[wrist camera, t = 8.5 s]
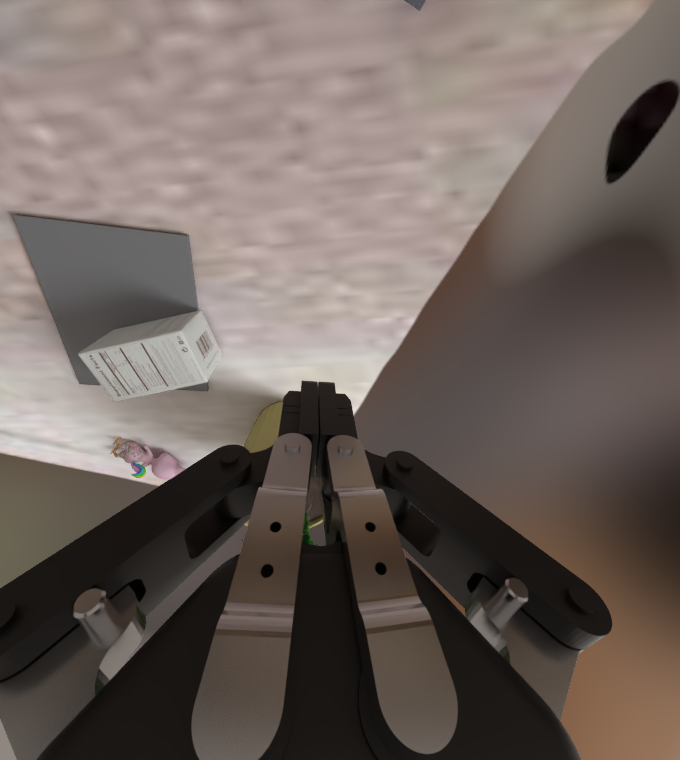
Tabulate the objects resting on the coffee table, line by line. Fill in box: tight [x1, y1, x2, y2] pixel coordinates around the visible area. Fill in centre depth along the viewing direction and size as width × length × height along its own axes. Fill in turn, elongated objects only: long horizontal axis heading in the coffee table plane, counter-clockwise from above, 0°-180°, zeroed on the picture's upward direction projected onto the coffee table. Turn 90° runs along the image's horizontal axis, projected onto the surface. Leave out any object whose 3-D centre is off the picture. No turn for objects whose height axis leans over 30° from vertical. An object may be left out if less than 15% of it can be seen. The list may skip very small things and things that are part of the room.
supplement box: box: [78, 310, 222, 402], centre depth 38 cm, size 7×7×13 cm
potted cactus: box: [244, 401, 323, 545], centre depth 39 cm, size 15×15×30 cm
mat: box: [13, 215, 209, 391], centre depth 40 cm, size 22×18×1 cm
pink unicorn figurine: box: [110, 437, 185, 479], centre depth 51 cm, size 6×6×15 cm
